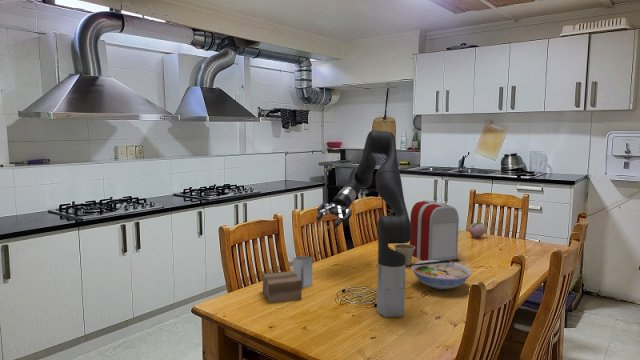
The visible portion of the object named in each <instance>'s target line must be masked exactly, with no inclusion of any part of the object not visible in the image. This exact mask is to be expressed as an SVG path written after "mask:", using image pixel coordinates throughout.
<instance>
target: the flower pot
mask: <svg viewBox="0 0 640 360" xmlns="http://www.w3.org/2000/svg"><path fill="white" fill-rule="evenodd" d="M393 247H394V250H395V251H398V252H400V253H402V254H404V255H405V257H406V264H405V265H412V260H413V256H412V255H413V251H414V249H415V247H414V246H412V245H410V244H408V243H403V244H395V245H393ZM406 267H409V266H406Z"/></svg>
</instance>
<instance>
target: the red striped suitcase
mask: <svg viewBox="0 0 640 360" xmlns="http://www.w3.org/2000/svg"><path fill="white" fill-rule="evenodd" d="M409 220H410V224H411V231H412V235H411V240H410V241H409V245H412V246H414V247H415V249H414V251H413V255H412V258H413V257H414V258H415V259H417V260H419V261H429V260H438V261H443V260H450V259H458V249H459V247H458V244H459V227H460V226H459V223H460V221H459V220H460V218H459V212H458V210H457V209H456V208H455V207H454V206H452V205H447V204H445V203H442V202H436V201H433V200H427V199H426V200H422V201H416V203H414V204H413V206H412V208H411V210H410V215H409Z"/></svg>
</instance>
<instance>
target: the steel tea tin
mask: <svg viewBox="0 0 640 360" xmlns="http://www.w3.org/2000/svg"><path fill="white" fill-rule="evenodd" d="M292 260H293V261H292V271H294V272H295V274H296V275H297V276H298V277H299V278H300V280H301V281H302V289H305V288H308V287H310V286H312V285H313V257H310V256H305V255H300V256H297V257H293V258H292Z"/></svg>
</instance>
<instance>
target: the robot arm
mask: <svg viewBox="0 0 640 360" xmlns="http://www.w3.org/2000/svg"><path fill="white" fill-rule="evenodd" d="M396 143H397V142H396V137H395V134H394V133H393V132H392V131H387V130H386V131H385V130H376V129H375V130H373V129H372V130H370V131H369V132H368V134H367V136H366V139H365V143H364V147H363V150H362V156H361V159H360V162H359V164H358V166H357V167H354V168H353V169H352V170H351V171H350V174H349V177H348V181H347V182H346V183H345V185H344V187H342V188H341V189H340V191H339V192H338V193H337V194H336V196H334V198H333V199H332V201H331V202H330V203H327V201H323V202H322V203H321V204H320V205H319V206H318V207H317V209H316V210H317V215H316V217H315V219H316V221H317V222H318V223H319V222H320V221H321V220H322V219H323V217H324V216H329V215H332V216H335V217H338V218H337V219H336V220H335V222H334V227H335V228H337V227H339V226H340V225H341V224H342V223H343V222H344V223H348V222H349V220H350V218H351V217H352V215H353V210H352V208H350V207H351V205H352V204H353V203H354V202H355V200H356V197H358V195H359V194H360V192H361V190H362V188H363V189H367V188H369V187H370V186H371V184H372V182H373V178H375V187H376V191H377V192H376V193H377V194H378V195H379V197H380V198H381V199H382V200H383V201H384V202H385V203H386V204H387V205H388V206H389V207H390V209H392V211H393V212H394V215H381V216H380V217H379V218H378V221H377V245H378V246H377V249H378V250H377V284H376V285H377V289H376V290H377V291H376V311H377V313H378V314H379V315H381V316H384V317H385V318H398V317H399V318H402V317H404V314H405V300H406V299H405V295H406V289H405V288H406V266H405V264H406V257H405V255H404V254H402V253H400V252H398V251H395V249H392V248H391V247H389V245H390V244H395V245H397V244H408V243H410V240H411V235H412V231H411V224H410V215H409V213H408V210H407V206H406V203H405V197H404V190H403V184H402V183H403V182H402V177H401V172H400V169H399V162H398V157H397V155H398V154H397V144H396ZM374 154H375V155H377V154H378V155H385V156H386V158H385V160H384V161H383V162H382V164H381V165H380V166H379V168H378V169H377V171H376V173H375V177H374V176H373V175H374V174H373V173H374V170H375V169H376V166H377V158H376V157H375V155H374ZM343 215H344V216H343Z"/></svg>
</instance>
